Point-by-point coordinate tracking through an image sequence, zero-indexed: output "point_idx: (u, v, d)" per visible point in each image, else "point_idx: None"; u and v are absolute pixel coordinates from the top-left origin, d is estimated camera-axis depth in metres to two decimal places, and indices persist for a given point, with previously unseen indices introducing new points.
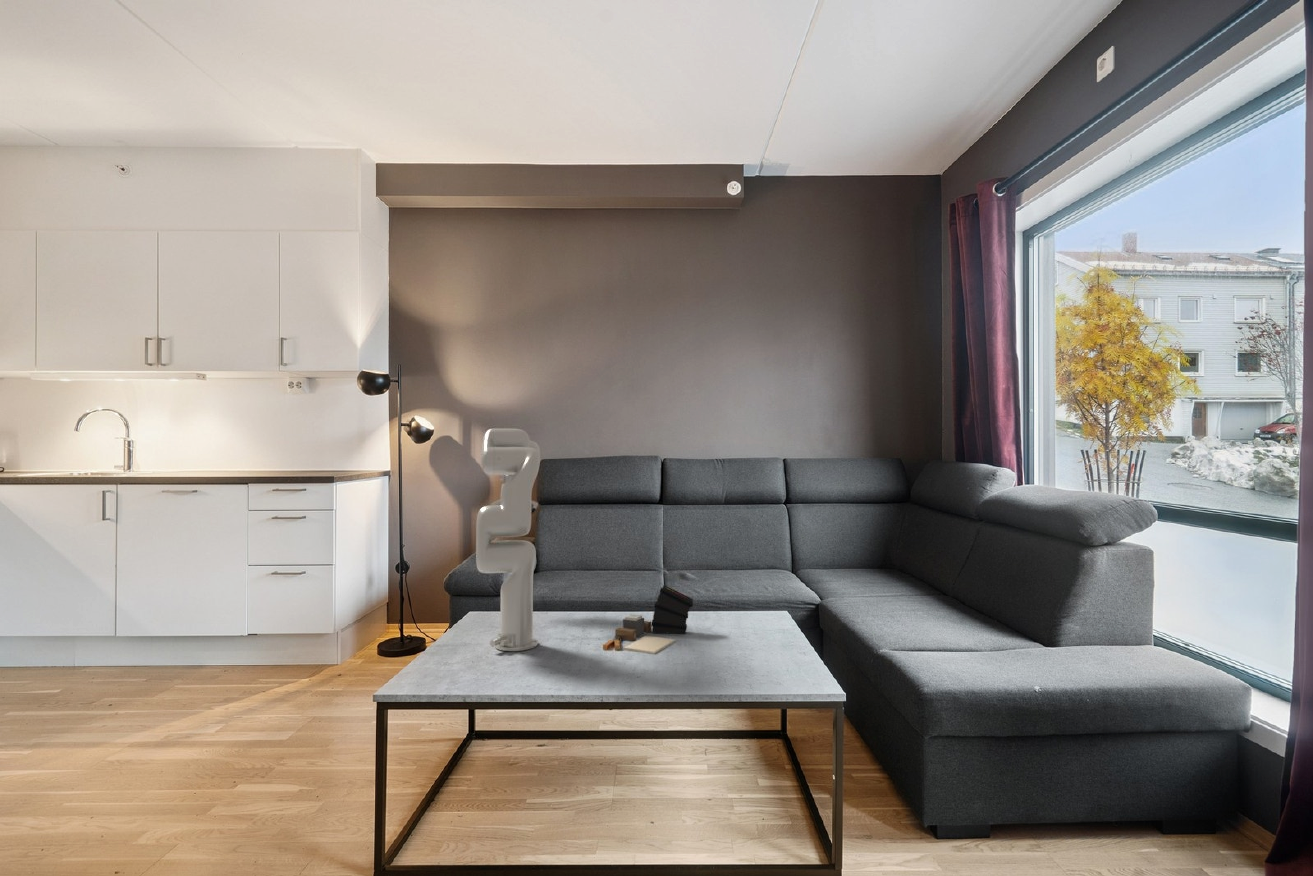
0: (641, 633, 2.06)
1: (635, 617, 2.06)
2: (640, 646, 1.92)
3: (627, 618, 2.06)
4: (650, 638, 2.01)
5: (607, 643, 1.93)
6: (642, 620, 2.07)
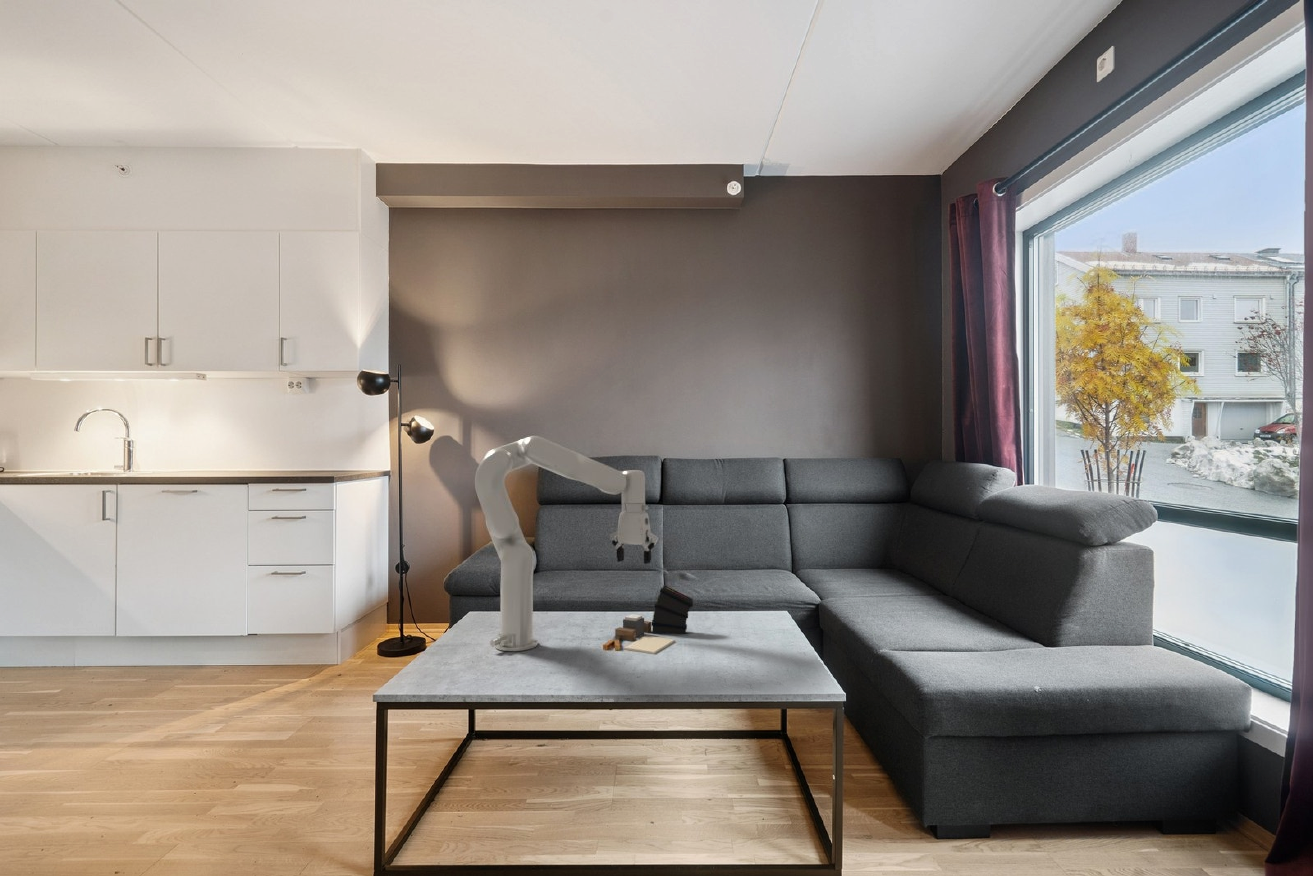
0: (641, 633, 2.06)
1: (635, 617, 2.06)
2: (640, 646, 1.92)
3: (627, 618, 2.06)
4: (650, 638, 2.01)
5: (607, 643, 1.93)
6: (642, 620, 2.07)
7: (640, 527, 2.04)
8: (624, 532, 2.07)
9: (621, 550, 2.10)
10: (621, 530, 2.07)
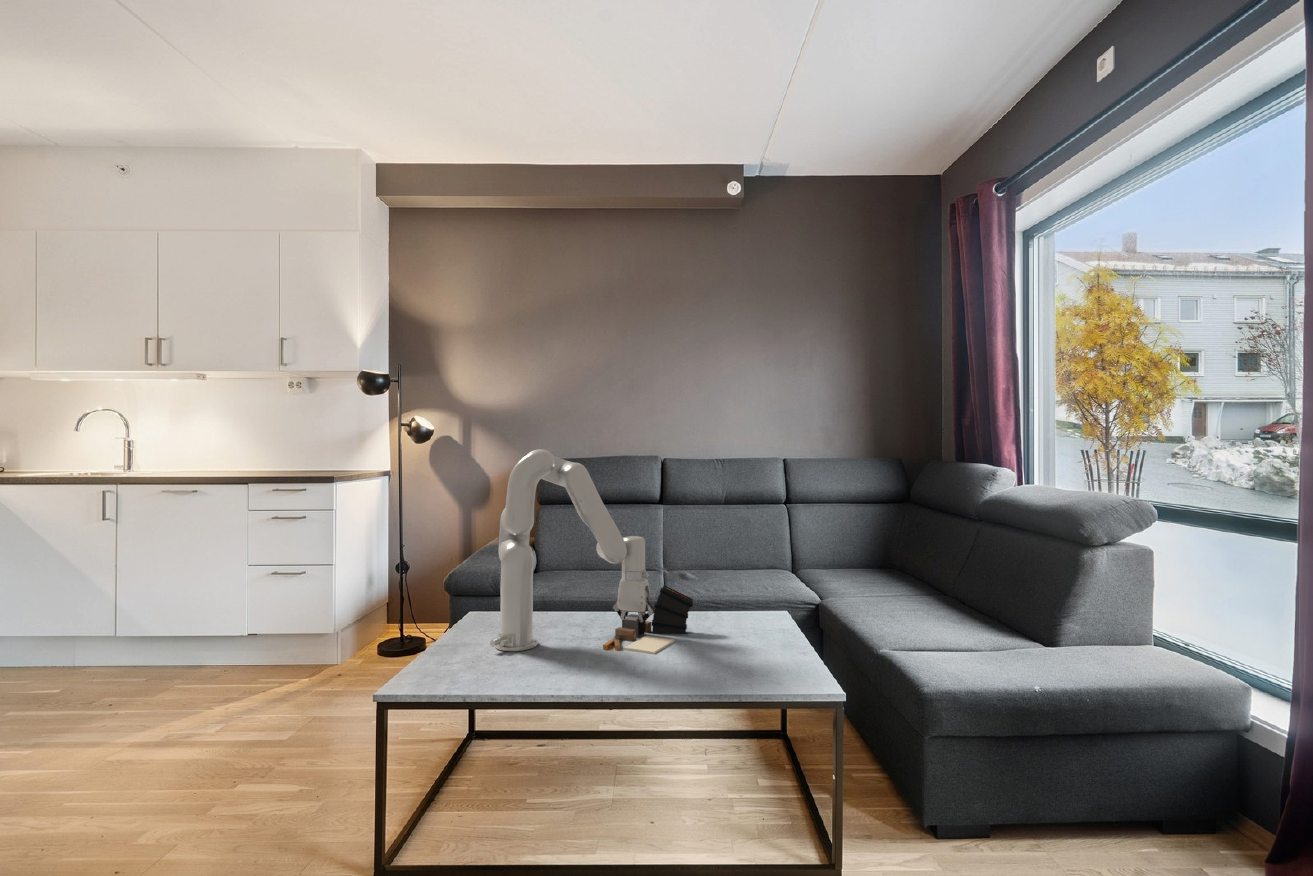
0: None
1: (635, 617, 2.06)
2: (640, 646, 1.92)
3: (627, 618, 2.06)
4: (650, 638, 2.01)
5: (607, 643, 1.93)
6: None
7: (640, 595, 2.04)
8: (624, 599, 2.06)
9: None
10: (621, 597, 2.07)
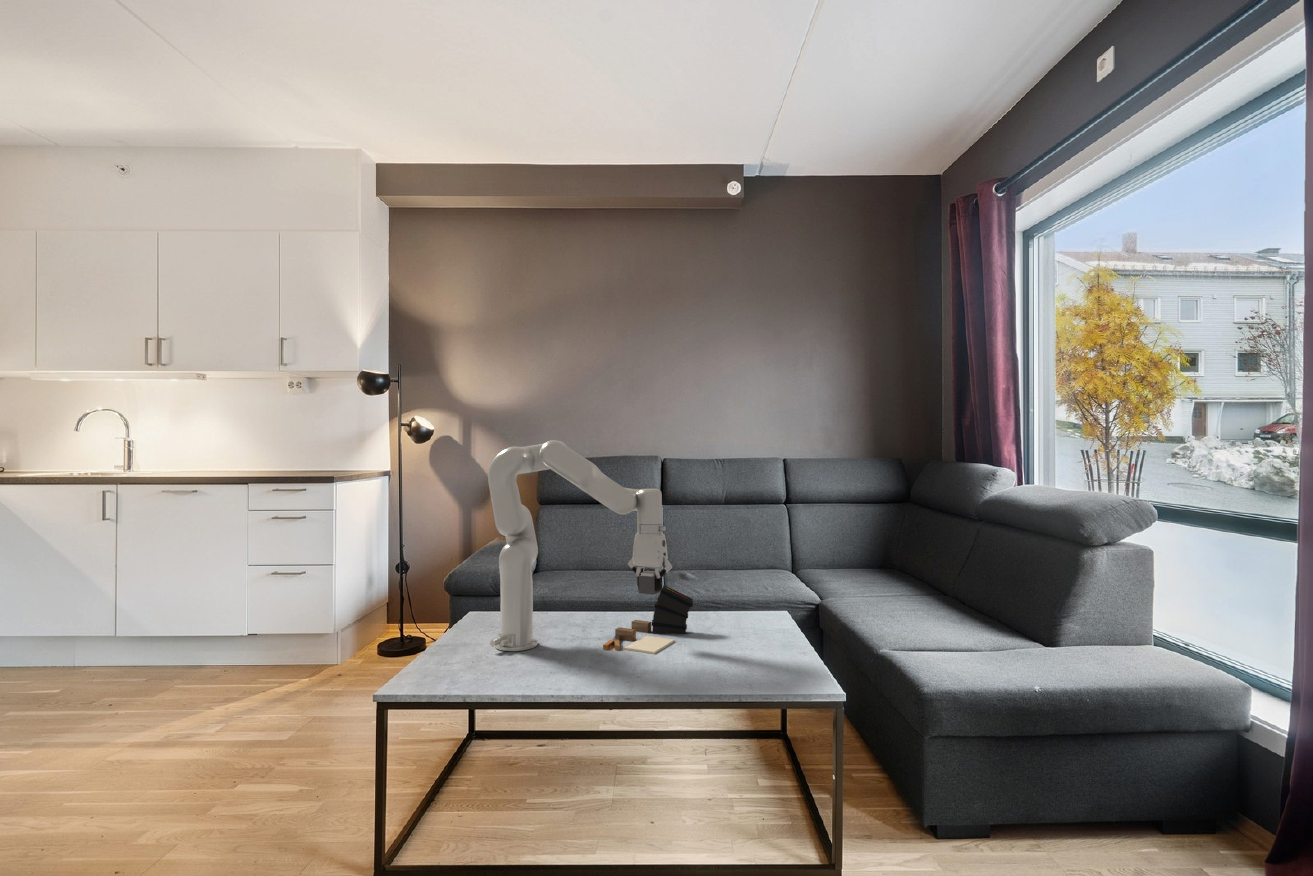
0: None
1: (651, 573, 1.95)
2: (640, 646, 1.92)
3: (643, 574, 1.95)
4: (650, 638, 2.01)
5: (607, 643, 1.93)
6: None
7: (656, 549, 1.93)
8: (640, 554, 1.95)
9: None
10: (636, 552, 1.96)
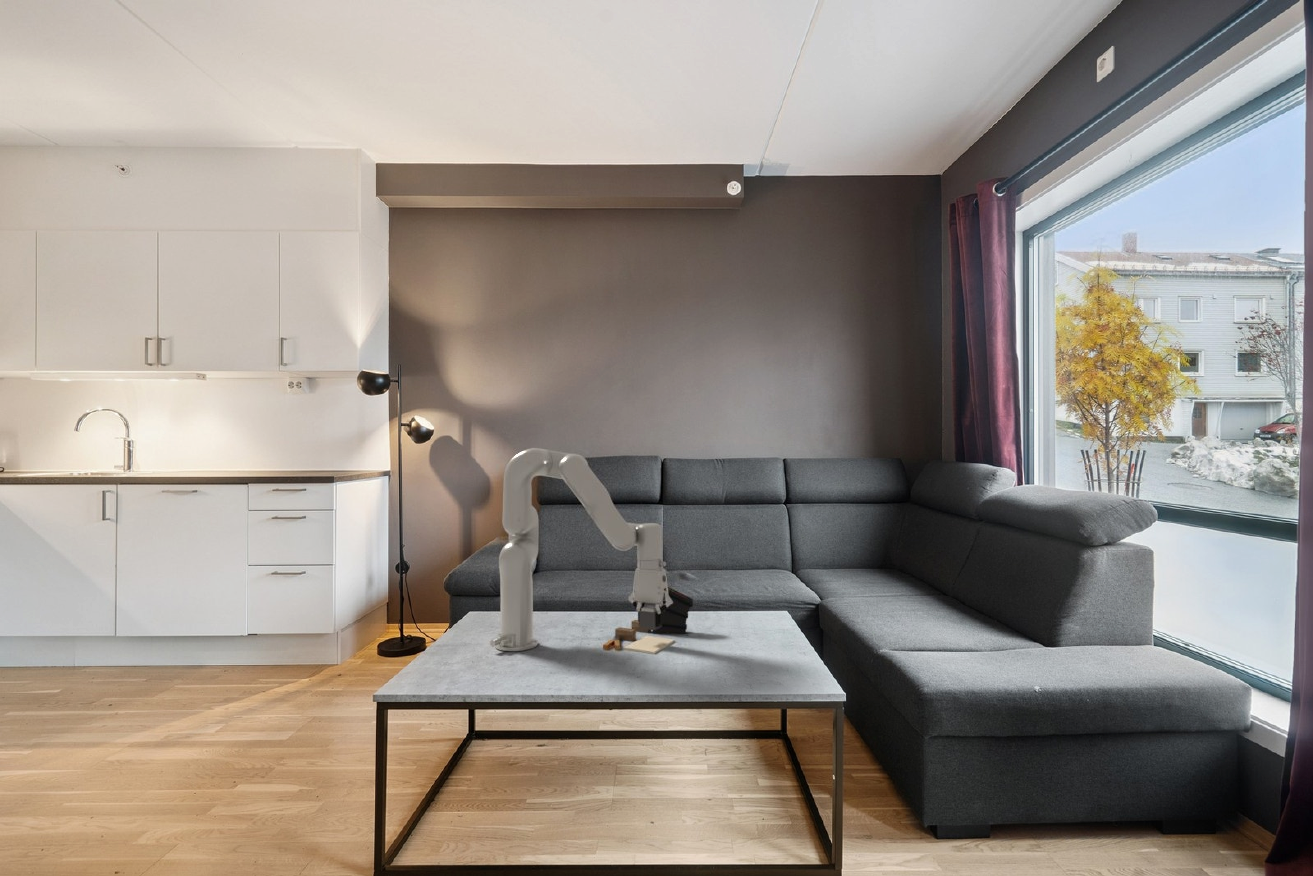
0: None
1: (652, 608, 1.94)
2: (640, 646, 1.92)
3: (644, 609, 1.94)
4: (650, 638, 2.01)
5: (607, 643, 1.93)
6: None
7: (657, 585, 1.92)
8: (640, 590, 1.95)
9: None
10: (637, 588, 1.95)
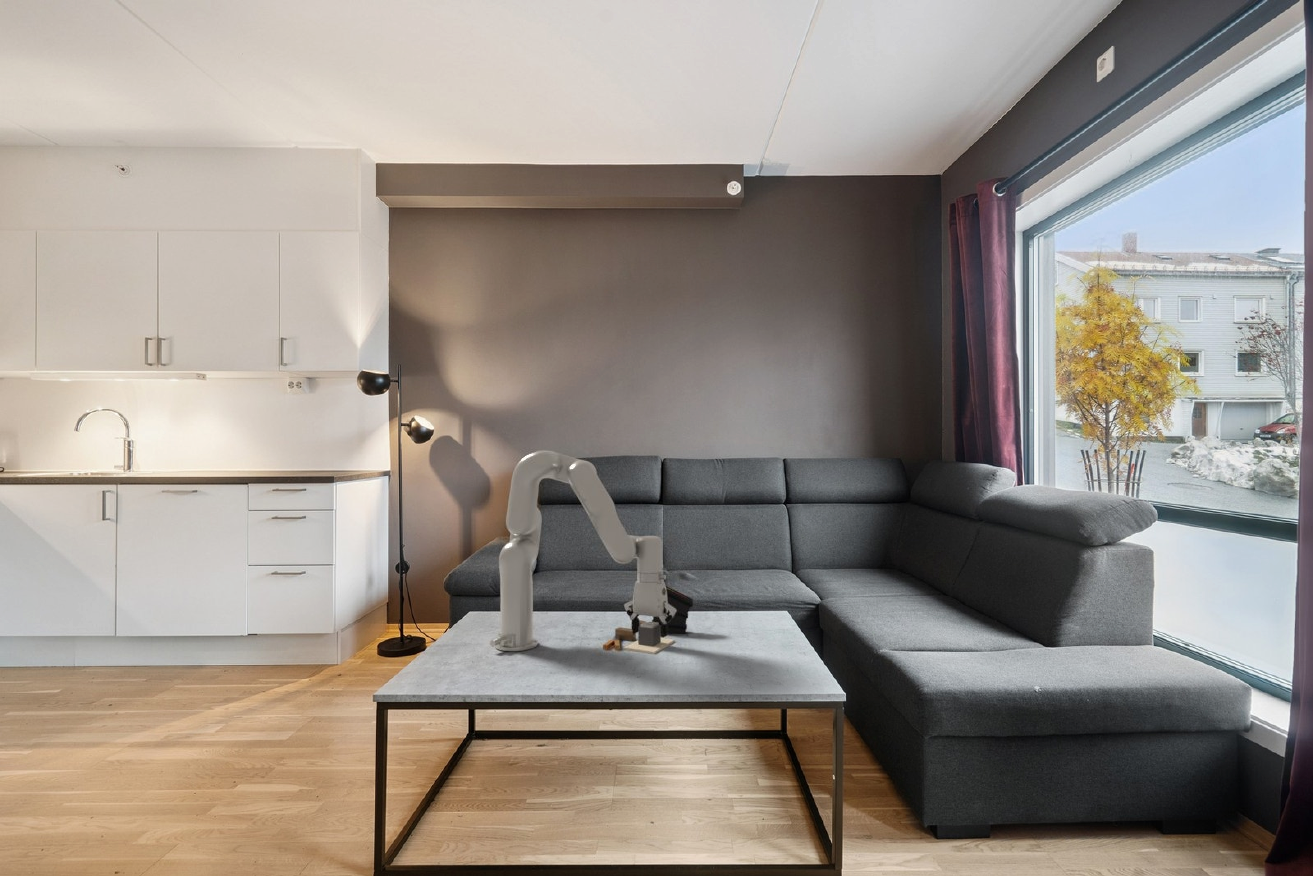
0: (657, 641, 1.95)
1: (651, 624, 1.94)
2: (640, 646, 1.92)
3: (643, 625, 1.94)
4: None
5: (607, 643, 1.93)
6: (658, 627, 1.96)
7: (657, 598, 1.92)
8: (640, 603, 1.95)
9: (636, 621, 1.98)
10: (637, 600, 1.95)
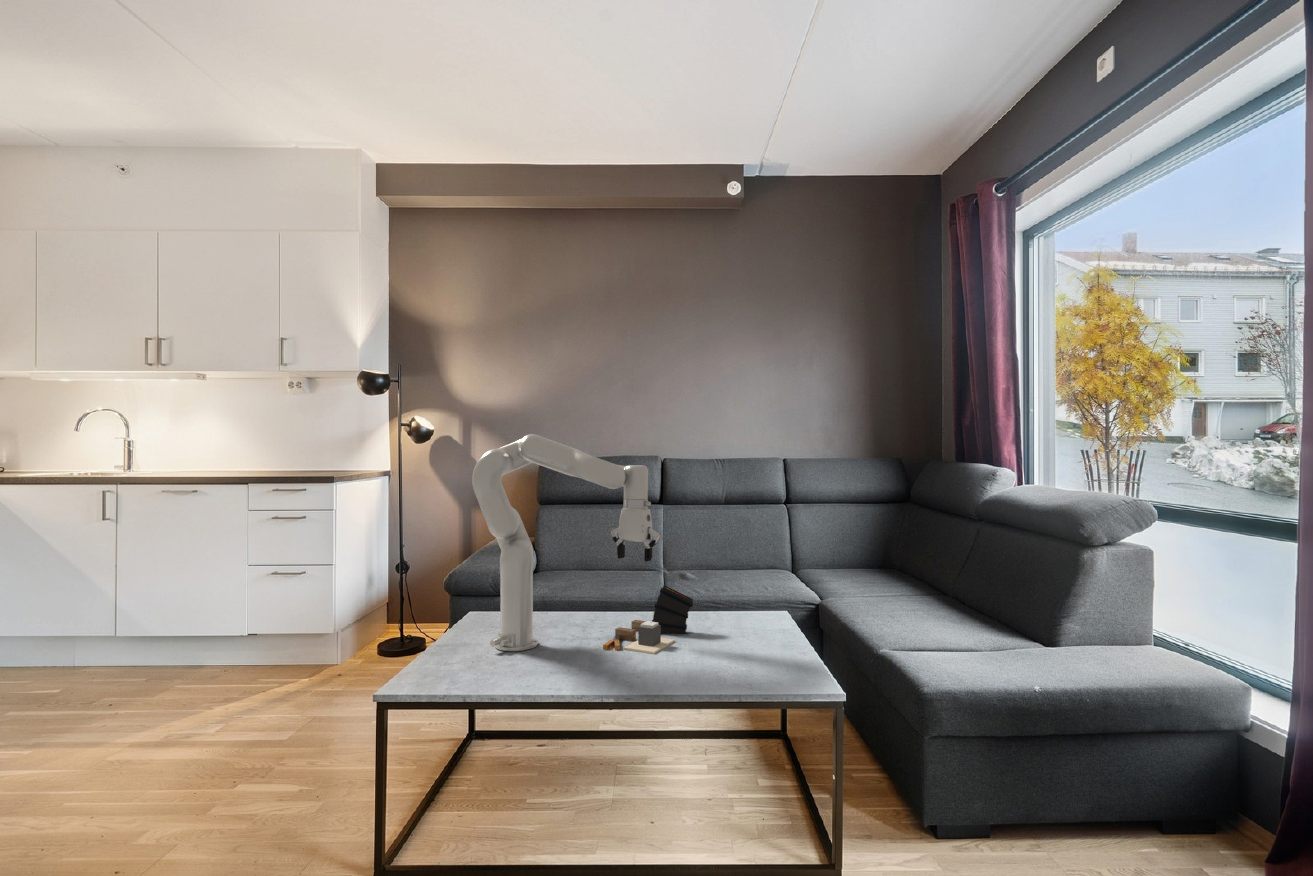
0: (657, 641, 1.95)
1: (651, 624, 1.94)
2: (640, 646, 1.92)
3: (643, 625, 1.94)
4: None
5: (607, 643, 1.93)
6: (658, 627, 1.96)
7: (641, 523, 1.99)
8: (625, 528, 2.01)
9: (622, 547, 2.04)
10: (622, 526, 2.02)
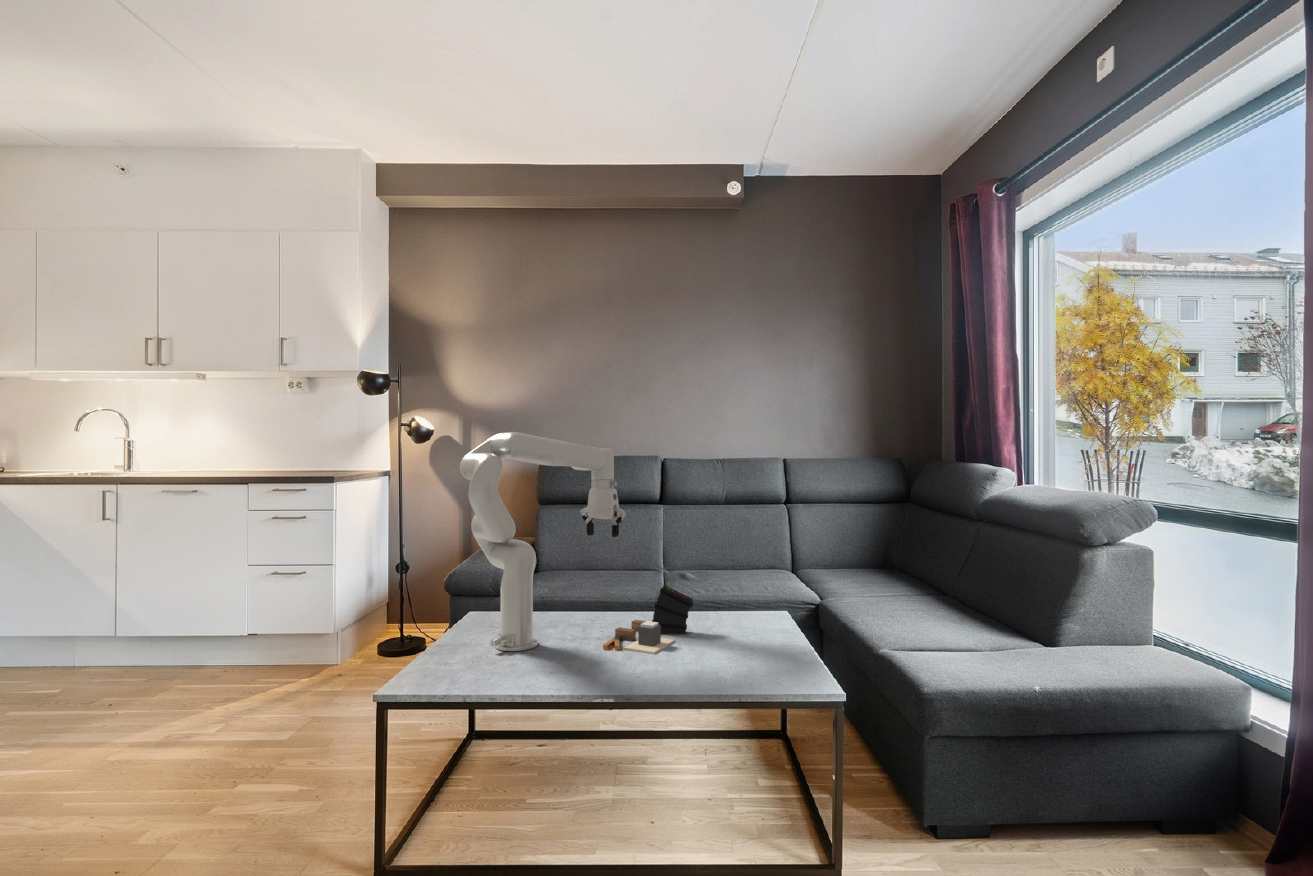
0: (657, 641, 1.95)
1: (651, 624, 1.94)
2: (640, 646, 1.92)
3: (643, 625, 1.94)
4: None
5: (607, 643, 1.93)
6: (658, 627, 1.96)
7: (608, 502, 2.14)
8: (593, 507, 2.17)
9: (591, 525, 2.20)
10: (591, 505, 2.17)
